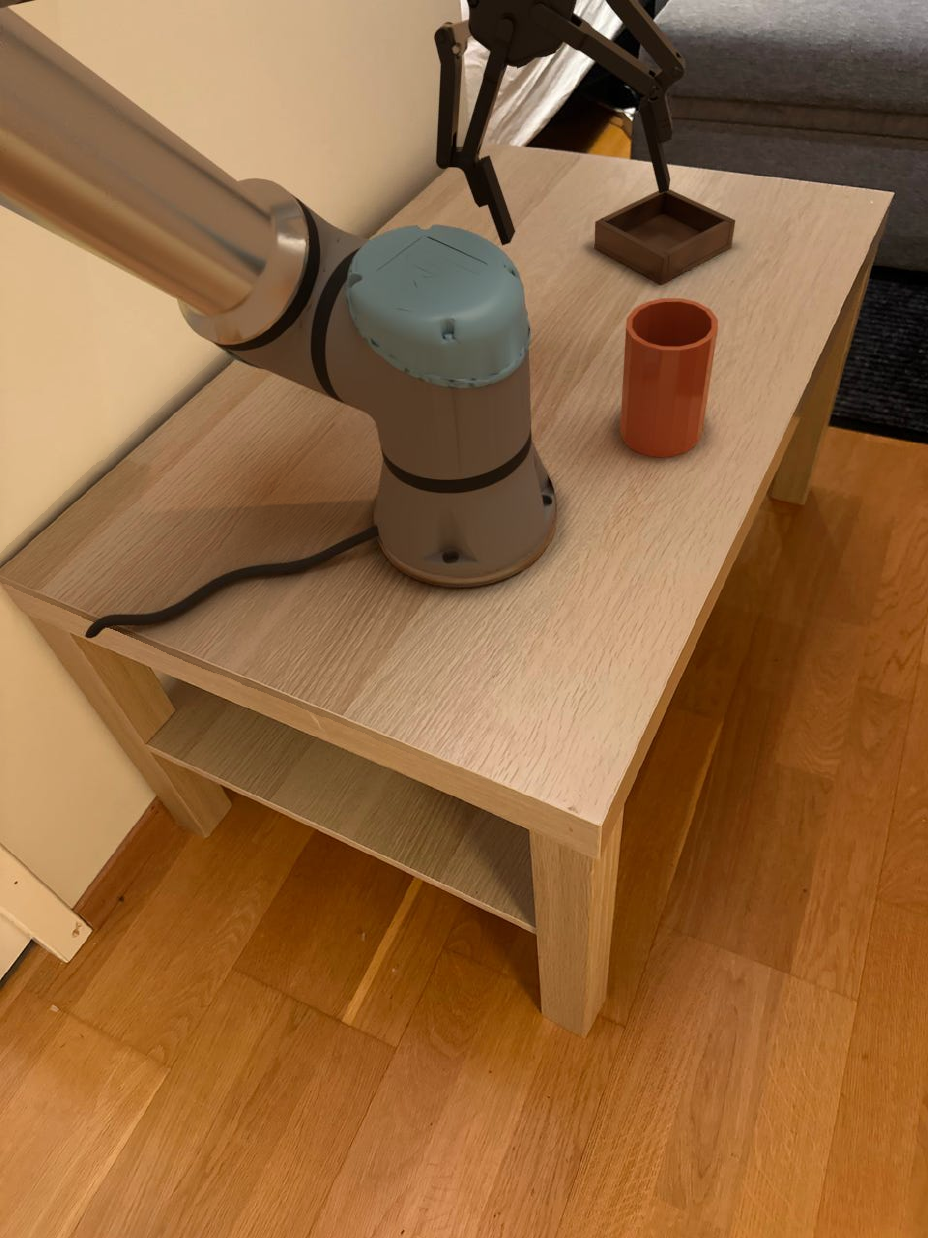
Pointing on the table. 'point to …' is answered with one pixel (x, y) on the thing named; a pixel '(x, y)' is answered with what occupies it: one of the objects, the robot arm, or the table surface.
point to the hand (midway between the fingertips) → (584, 213)
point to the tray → (664, 235)
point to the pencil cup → (666, 375)
